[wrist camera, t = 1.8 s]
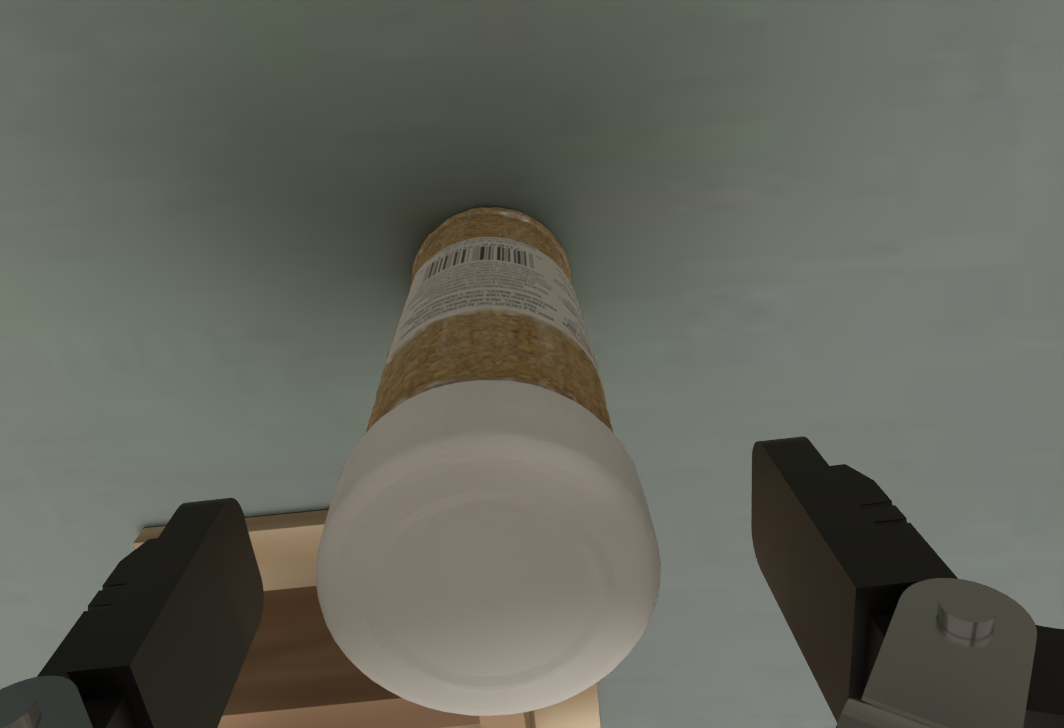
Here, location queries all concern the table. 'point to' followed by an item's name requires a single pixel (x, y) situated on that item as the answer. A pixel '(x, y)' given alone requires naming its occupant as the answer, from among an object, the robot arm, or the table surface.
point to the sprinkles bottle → (488, 490)
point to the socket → (333, 654)
